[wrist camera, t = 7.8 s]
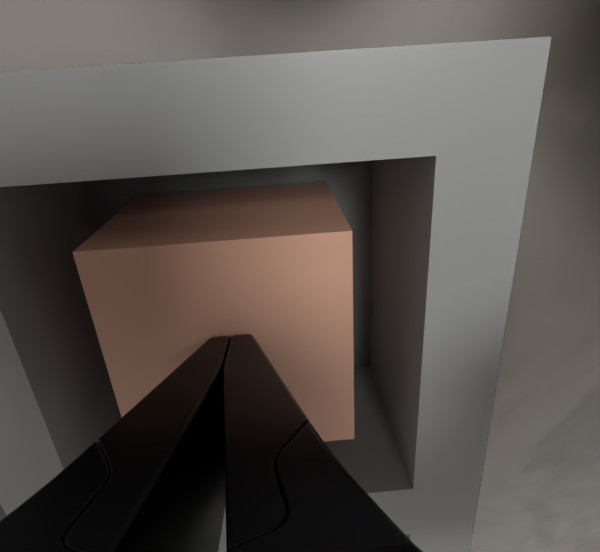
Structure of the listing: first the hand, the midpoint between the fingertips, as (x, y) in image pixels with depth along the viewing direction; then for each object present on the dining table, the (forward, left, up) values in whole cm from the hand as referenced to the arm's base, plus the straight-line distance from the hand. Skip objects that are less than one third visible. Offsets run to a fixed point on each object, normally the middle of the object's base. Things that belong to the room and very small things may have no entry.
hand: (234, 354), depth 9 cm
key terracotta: (0, 0, -4) cm, 4 cm away
